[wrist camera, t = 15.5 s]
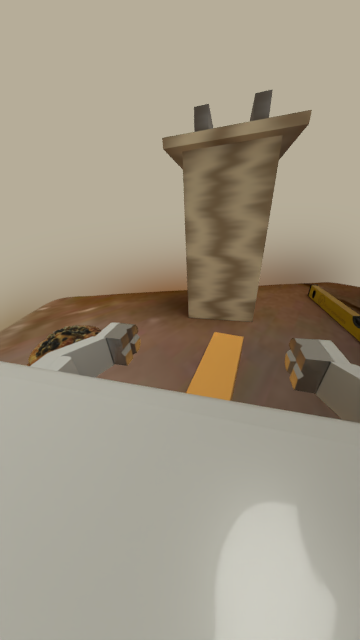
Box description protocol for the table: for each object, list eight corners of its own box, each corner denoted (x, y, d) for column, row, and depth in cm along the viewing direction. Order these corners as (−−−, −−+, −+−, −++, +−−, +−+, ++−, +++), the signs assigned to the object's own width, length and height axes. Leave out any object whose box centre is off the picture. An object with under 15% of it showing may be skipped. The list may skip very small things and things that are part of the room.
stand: (256, 299, 41) (283, 134, 28) (265, 328, 30) (318, 79, 17) (189, 296, 45) (184, 150, 32) (176, 321, 34) (160, 114, 21)
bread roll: (105, 369, 24) (89, 339, 21) (19, 396, 23) (-8, 367, 20) (114, 330, 34) (104, 306, 31) (54, 347, 32) (39, 324, 30)
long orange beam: (241, 354, 26) (243, 337, 24) (196, 575, 10) (195, 564, 8) (213, 348, 27) (214, 332, 26) (137, 532, 11) (127, 516, 10)
